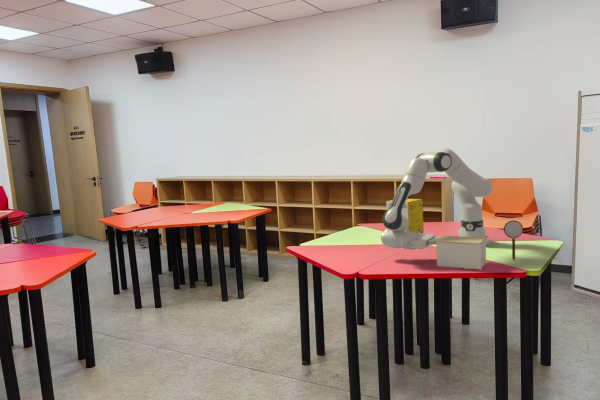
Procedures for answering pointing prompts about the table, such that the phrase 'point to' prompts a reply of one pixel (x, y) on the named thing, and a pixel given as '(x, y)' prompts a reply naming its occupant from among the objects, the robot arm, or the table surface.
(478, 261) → the carton
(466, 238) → the lid flap
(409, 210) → the packaging box
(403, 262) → the table surface
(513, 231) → the magnifying glass
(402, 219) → the robot arm
